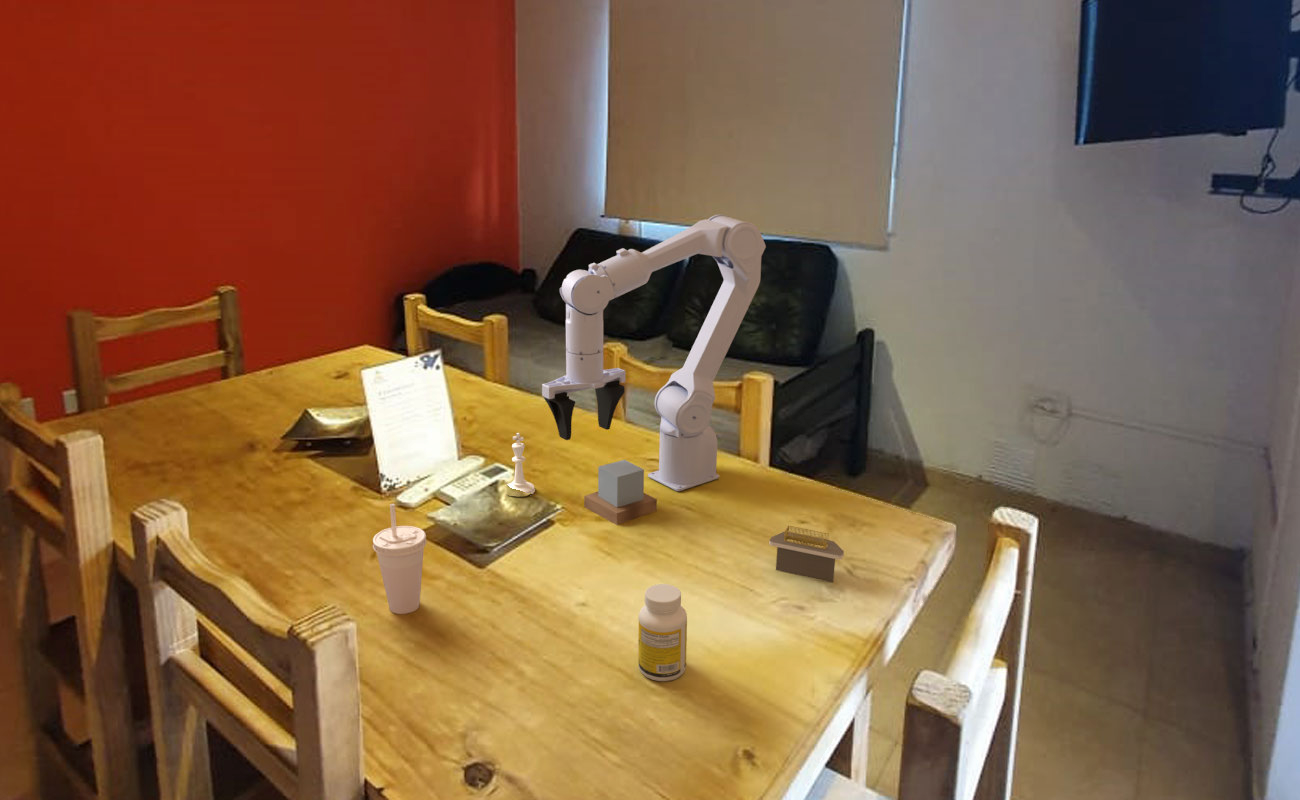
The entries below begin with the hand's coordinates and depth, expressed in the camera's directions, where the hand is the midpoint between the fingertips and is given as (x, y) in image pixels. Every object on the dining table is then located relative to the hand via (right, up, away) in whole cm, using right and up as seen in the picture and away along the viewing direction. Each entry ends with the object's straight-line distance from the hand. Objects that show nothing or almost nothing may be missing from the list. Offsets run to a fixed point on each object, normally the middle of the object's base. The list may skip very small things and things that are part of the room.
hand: (584, 432), depth 147 cm
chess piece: (-11, -10, +4) cm, 15 cm away
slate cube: (+6, -10, -3) cm, 12 cm away
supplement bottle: (+12, -25, -41) cm, 50 cm away
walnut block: (+6, -12, -2) cm, 14 cm away
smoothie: (-21, -21, -30) cm, 42 cm away
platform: (+32, -19, -20) cm, 42 cm away
